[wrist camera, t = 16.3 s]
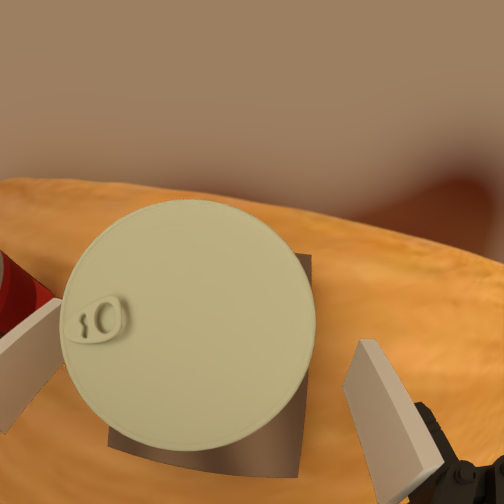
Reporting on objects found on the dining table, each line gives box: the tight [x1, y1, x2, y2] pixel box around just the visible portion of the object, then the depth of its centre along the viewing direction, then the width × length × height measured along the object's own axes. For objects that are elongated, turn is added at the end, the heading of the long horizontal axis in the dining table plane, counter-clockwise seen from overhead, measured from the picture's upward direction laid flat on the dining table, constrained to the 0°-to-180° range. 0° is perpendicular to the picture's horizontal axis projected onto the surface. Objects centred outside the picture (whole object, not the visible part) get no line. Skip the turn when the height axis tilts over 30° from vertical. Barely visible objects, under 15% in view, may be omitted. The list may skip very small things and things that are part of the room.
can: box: [59, 199, 316, 451], centre depth 13 cm, size 9×9×12 cm
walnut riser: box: [108, 253, 311, 478], centre depth 21 cm, size 14×18×6 cm
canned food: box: [0, 250, 54, 339], centre depth 19 cm, size 8×8×11 cm
